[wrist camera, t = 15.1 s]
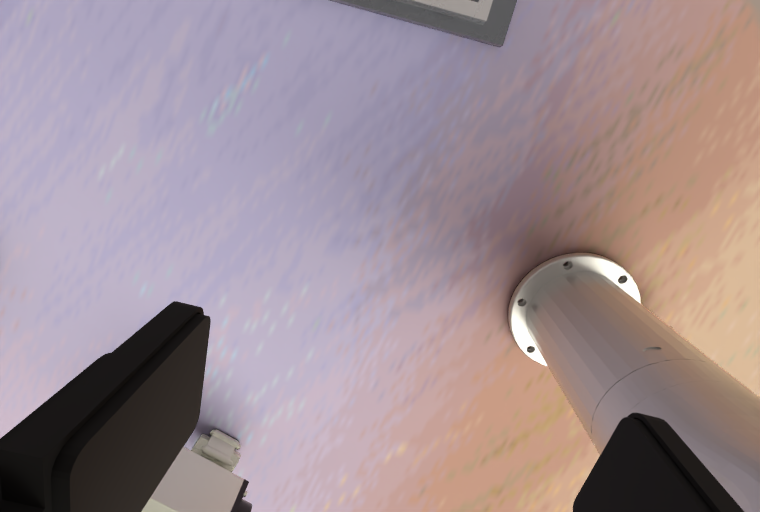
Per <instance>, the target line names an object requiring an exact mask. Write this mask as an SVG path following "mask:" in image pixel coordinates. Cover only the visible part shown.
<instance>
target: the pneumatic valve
mask: <svg viewBox="0 0 760 512" xmlns="http://www.w3.org/2000/svg"><path fill="white" fill-rule="evenodd" d="M210 435H211V437H209V436H207V435H205V434H202V435H201V436H200V437H199V439H198V440H197V442H196V443H195V445H194V446H193V448H192V450H189V449H187V448H185V447H183V448H182V449H181V451H180V453H179V454H178V456H177V457H176V459H175V460H174V462H173V463H172V465H171V466H170V468H169V470H168V471H167V473H166V474H165V476H164V477H163V479H162V480H161V482H160V483H159V485H158V487H157V488H156V490H155V491H154V493H153V494H152V496H151V497H150V499H149V500H148V502H147V504H146V505H145V507H144V508H143V510H142V511H141V512H251V509H252V504H251V503H249V502H247V501H245V500H243V499H242V498H243V497H245V496H246V495H247V493H248V492H247V491H245V490H246V488H247V485H248V483H249V482H248V481H247V480H245V479H243V478H241V477H239V476H237V475H235V474H234V473H232V471H233V470H234V468H235V467H236V465H237V463H238V461H239V459H240V457H241V455H240V453H238V452H236V451H234V450H235V449H237V450H238V449H240V447H241V446H240V444H239V441H237V440H235V439H233V438H232V437H230V436H228V435H226V434H224V433H222V432H221V431H219V430H217V429H215V430H213V429H212V431H211V432H210Z"/></svg>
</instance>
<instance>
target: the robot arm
mask: <svg viewBox="0 0 760 512" xmlns="http://www.w3.org/2000/svg"><path fill="white" fill-rule="evenodd" d="M565 262H567V263H566V264H564V263H565ZM519 299H521V300H520V301H518V300H519ZM508 322H509V327H510V331H511V333H512V336H513V338H514V340H515V341H516V343H517V345H518V347H519V348H520V349H521V350H522V351H523V353H524V354H525V355H527V356H528V357H529V358H531V359H532V360H534V361H535V362H538V363H540V364H542V365H544V366H548V367H549V369H550V371H551V372H552V374H553V376H554V378H555V379H556V381H557V383H558V384H559V386H560V388H561V389H562V391H563V393H564V395H565V396H566V398H567V400H568V401H569V403H570V405H571V406H572V408H573V410H574V412H575V413H576V415H577V417H578V418H579V420H580V422H581V424H582V425H583V427H584V429H585V430H586V432H587V434H588V435H589V437H590V439H591V441H592V442H593V444H594V446H595V447H596V449H597V451H598V453H599V454H600V457H599V459H598V460H597V462H596V464H595V466H594V467H593V469H592V471H591V473H590V474H589V476H588V478H587V480H586V481H585V483H584V485H583V486H582V488H581V490H580V492H579V493H578V495H577V497H576V499H575V501H574V504H573V512H760V397H759V396H757V395H756V394H755V393H754V392H752V391H751V390H750V389H748V388H747V387H746V386H745V385H743V384H742V383H741V382H739V381H738V380H737V379H736V378H734V377H733V376H732V375H731V374H729V373H728V372H727V371H725V370H724V369H723V368H722V367H720V366H719V365H718V364H716V363H715V362H714V361H713V360H711V359H710V358H709V357H708V356H706V355H705V354H704V353H703V352H701V351H700V350H699V349H697V348H696V347H695V346H694V345H692V344H691V343H690V342H689V341H687V340H686V339H685V338H684V337H682V336H681V335H680V334H679V333H677V332H676V331H675V330H674V329H673V328H672V327H671V326H668V325H667V324H666V323H665V322H663V321H662V320H661V319H660V318H658V317H657V316H656V315H654V314H653V313H652V312H651V311H649V310H648V309H647V308H646V307H644V306H643V305H642V304H641V295H640V292H639V289H638V286H637V284H636V282H635V281H634V279H633V278H632V276H631V275H630V274H629V273H628V272H627V271H626V270H625V269H624V268H623V267H621V266H620V265H618V264H617V263H616V262H614V261H612V260H610V259H608V258H606V257H604V256H600V255H596V254H592V253H571V254H565V255H561V256H558V257H554V258H552V259H550V260H548V261H545V262H543V263H541V264H540V265H539V266H537V267H536V268H534V269H533V270H531V271H530V272H529V273H528V274H527V275H526V276H525V277H524V278H523V279H522V281H521V282H520V283H519V285H518V286H517V288H516V289H515V291H514V293H513V296H512V298H511V301H510V305H509V309H508ZM209 330H210V317H209V316H205V315H204V312H203V309H202V308H201V307H197V306H193V305H189V304H185V303H181V302H172V303H171V304H170V305H168V306H167V307H166V308H165V309H164V310H162V311H161V312H160V313H159V314H158V315H156V316H155V317H154V318H153V319H152V320H150V321H149V322H148V323H147V324H146V325H144V326H143V327H142V328H141V329H140V330H138V331H137V332H136V333H135V334H134V335H132V336H131V337H130V338H129V339H128V340H126V341H125V342H124V343H123V344H122V345H120V346H119V347H118V348H117V349H116V350H114V351H113V352H112V353H108V354H105V355H103V356H102V357H100V358H98V359H97V360H96V361H95V362H94V363H92V364H91V365H90V366H89V367H87V368H86V369H85V370H84V371H83V372H81V373H80V374H79V375H78V376H76V377H75V378H74V379H73V380H72V381H70V382H69V383H68V384H67V385H65V386H64V387H63V388H62V389H61V390H59V391H58V392H57V393H56V394H54V395H53V396H52V397H51V398H50V399H48V400H47V401H46V402H45V403H43V404H42V405H41V406H40V407H39V408H37V409H36V410H35V411H34V412H32V413H31V414H30V415H29V416H28V417H26V418H25V419H24V420H23V421H21V422H20V423H19V424H18V425H17V426H15V427H14V428H13V429H12V430H10V431H9V432H8V433H7V434H6V435H4V436H3V437H2V438H1V439H0V512H141V511H142V510H143V508H144V507H145V505H146V504H147V502H148V500H149V499H150V497H151V496H152V494H153V493H154V491H155V490H156V488H157V487H158V485H159V483H160V482H161V480H162V479H163V477H164V476H165V474H166V473H167V471H168V470H169V468H170V466H171V465H172V463H173V462H174V460H175V459H176V457H177V456H178V454H179V453H180V451H181V449H182V448H183V446H184V445H185V443H186V442H187V440H188V439H189V437H190V435H191V434H192V432H193V431H194V429H195V427H196V424H197V422H198V418H199V414H200V406H201V398H202V389H203V381H204V372H205V364H206V355H207V347H208V338H209Z"/></svg>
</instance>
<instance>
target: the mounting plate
mask: <svg viewBox="0 0 760 512" xmlns="http://www.w3.org/2000/svg"><path fill="white" fill-rule="evenodd" d="M330 1H334V2H338V3H341V4H345V5H348V6H352V7H356V8H359V9H363V10H367V11H370V12H374V13H377V14H381V15H385V16H388V17H392V18H396V19H399V20H403V21H406V22H410V23H414V24H417V25H421V26H425V27H428V28H432V29H435V30H439V31H443V32H446V33H450V34H454V35H457V36H461V37H464V38H468V39H472V40H475V41H479V42H483V43H486V44H490V45H493V46H497V47H501V46H502V45H503V43H504V39H505V36H506V33H507V30H508V27H509V24H510V21H511V17H512V14H513V11H514V8H515V5H516V2H517V0H330Z"/></svg>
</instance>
